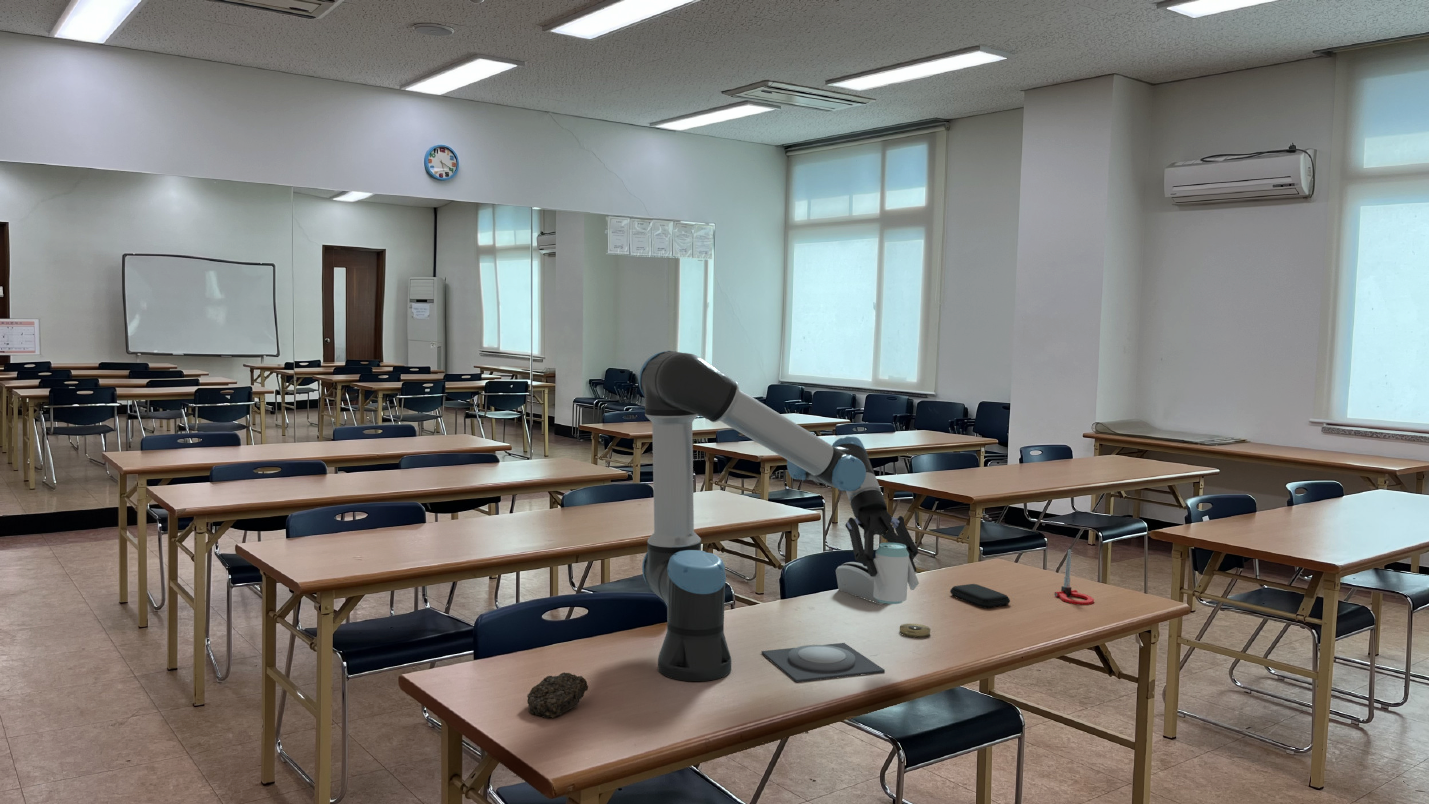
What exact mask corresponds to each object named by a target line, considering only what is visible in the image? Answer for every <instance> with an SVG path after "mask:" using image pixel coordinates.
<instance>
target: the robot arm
mask: <svg viewBox="0 0 1429 804" xmlns="http://www.w3.org/2000/svg"><path fill="white" fill-rule="evenodd" d="M638 387H639V390H640V392H641V394H642V395H643V397H644V415H645V417H646V418H647V419H648V420H649V421H650V422H651V424H652V427H651V428H652V469H653V470H652V475H653V476H652V477H653V478H652V480H653V483H652V484H653V529H654V530H653V531H654V532H653V533H652V534H651V536H649V537H648V538H647V552H646V553H645V555H644V557H643V561H642V565H641V569H642V576H643V579H644V581H645V583H646V585H647V587H648V588H649V590H650V591H651V592H652V593H654V594H655V595H656V596H657V597H658V598H660V599H661V600H662V601H663V602H665V603H666V604H667V609H666V610H667V612H666V613H667V614H666V615H667V616H666V619H667V623H666V624H667V625H666V626H667V627H666V633H665V637H664V639H663V642H662V645H661V648H660V650H659V654H658V656H657V670H658V672H659V673H660V674H662V675H663V676H665V677H668V678H671V679H674V680H679V681H684V682H685V681H686V682H709V681H713V680H717V679H722V678H724V677H726V676H728V675H729V674H731V672H732V655H731V653H730V649H729V647H728V642H727V640H726V636H725V631H724V630H725V629H724V628H725V626H724V624H725V623H724V622H725V602H726V601H725V597H726V596H725V595H726V581H727V575H726V566H725V563H724V560H723V559H722V558H721V557H719V556H718V555H717V554H714V553H712V552H707V551H704V550H702V538H701V537H700V536H699V535H698V534H697V533H696V531H695V527H694V526H695V521H694V518H695V517H694V515H695V514H694V512H695V510H694V468H693V467H694V452H693V451H694V450H693V449H694V448H693V443H694V441H693V440H694V439H693V422H694V421H695V420H696V418H698V417H699V416H700V417H703V418H704V419H706V420H709V421H710V422H712V423H717V422H721V423H723V424H724V425H726V426H728V427H730V428H731V429H733V430H735V431H737V432H738V433H741V434H742V435H744V436H745V437H747V438H749V439H751V440H752V441H754V442H756V443H757V444H759V445H760V446H763V447H764V448H765V449H768V450H769V451H771V452H773V453H775V454H776V455H778V456H779V457H782V458H784V459H785V460H786V468H787V472H788V474H789V476H790V478H792V479H794V480H802V481H807V480H808V481H809V480H811V481H814V482H816V483H817V482H818V483H821V484H823V485H827V486H830V487H832V488H835V489H838V491H842V492H845V493H846V496H847V498H848V502H849V504H850V507H851V510H852V514H853V516H854V518H853V517H849V518H848V520H847V522H846V523H845V525H844V526H845V528H846V530H847V531H848V532H849V533H848V534H849V538H850V541H851V542H850V543H851V546H852V550H853V556H854V559H855V562H857V563H861V564H863V566H867V569H868V572H869V574H870V576H871V577H874V580H875V582H876V585H877V588H878V591H879V592H882V591H883V590H884V589H885V587H886V586H887V584H886V581H885V578H884V575H883V573H882V570H881V567H880V564H879V562H878V559H877V558H875V557H874V546H875V543H874V541H875V540H874V539H875V537H874V536H876V535H878V536H881V537H882V538H883V539H884V540H886V541H887V543H899V544H903V545H905V546H906V550H907V551H908V553H909V565H908V583H907V585H908V587H909V589H910V591H914V590H915V589H916V587H918V585H919V584H920V583H919V580H918V577H917V575H916V572H917V567H916V565H915V562H914V560H915V558H916V557H917V556H918V554H919V550H918V548H917V546H916V544H915V541H914V540H913V539H912V537H911V535H910V532H909V531H908V529H907V528H908V527H906V524H905V518H904V517H903V516H902V515H899V516H898V517H893V516H892V514H890V513H889V511H888V506H887V503H886V500H885V498H884V497H885V496H884V495H883V493H882V488H881V487H880V483H879V482H878V479H877V477H876V475H875V472H874V468H873V466H872V463H871V460H870V458H869V455H868V452H867V450H866V447H865V446H864V444H863V442H862V440H861V439H860V438H859V437H857V436H854V435H847V436H845V437H840V438H838V439H836V440H835V441H834V442H833V443H832V444H830V443H828V442H827V441H825V440H823V439H822V438H821V437H819V436H817V435H815V433H812V432H811V431H809V430H807V429H806V428H804V427H802V426H801V425H799V424H798V423H796V422H794V421H792V420H790V418H787V417H786V416H784V415H782V414H780V413H779V412H777V411H775V410H774V409H772V408H771V407H769V406H767V405H766V404H764V403H763V402H761V401H759V400H758V399H756V398H754V397H753V396H751V395H749V394H748V393H746V392H744V391H742V390H741V389H740V388H739V383H738V382H737V381H736V380H734V379H733V378H731V377H729V376H728V375H726V373H724V372H722V371H721V370H719V369H718V368H716V367H714V366H713V365H712V364H710V363H709V362H708V361H706V359H703V358H702V357H701V356H698V355H696V354H694V353H693V354H692V353H689V352H680V351H675V350H674V351H672V350H665V351H661V352H656V353H654V354H652V355H650V356H649V357H648V358H647V359H646V361H644V363H643V364H642V365H641V368H640V370H639V374H638ZM859 527H860V528H861V529H862V531H863V540H862V535H861V532H860V528H859ZM863 541H864V543H863ZM863 544H864V545H863Z"/></svg>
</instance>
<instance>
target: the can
mask: <svg viewBox="0 0 1429 804" xmlns="http://www.w3.org/2000/svg"><path fill="white" fill-rule="evenodd" d="M875 558H877V559H878V562H879V564H880V567H881V570H882V573H883V575H884V578H885V581H886V584H887V586H886V587H885V589H884V590H883V591H882V592H879V591H878V588H877V585H876V582H875V580H874V591H873V597H874V598H875V599H877V601H879V602H882V603H884V604H889V605H898V604H902V603H903V602H905V601H906V600H907V599H908V598H907V597H908V565H909V553H908V551H907V550H906V546H905V545H903V544H899V543H889V542H880V543H878V547H877V549H876V550H875V557H874V559H875Z"/></svg>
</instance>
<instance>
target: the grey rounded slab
mask: <svg viewBox="0 0 1429 804" xmlns="http://www.w3.org/2000/svg"><path fill="white" fill-rule="evenodd" d="M835 575H836V581H837V587H838V588H837V589H838V590H839V591H841V590H842V591H841V592H844V593H846V592H847V594H849V595H852V594H853V595H852V596H854V595H856V596H855V597H857V596H859V597H858V598H860V597H862V598H861V599H863V598H865V599H867V600H866V601H868V600H871V601H874V602H876V603H875V604H877V603H878V604H877V605H879V604H882V605H884V604H885V603H882V602H879V601H877V599H875V598H874V597H873V591H874V577H871V576H870V574H869V572H868V569H867V566H863V564H862V562H857V561H849V562H845V563H842V564H841V565H838V566H837V568H836V569H835ZM865 599H864V600H865ZM871 601H870V602H871ZM874 602H873V603H874Z"/></svg>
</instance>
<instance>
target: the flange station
mask: <svg viewBox="0 0 1429 804" xmlns="http://www.w3.org/2000/svg"><path fill="white" fill-rule="evenodd" d="M760 653H761V655H763V656H764V657H765V658H766V657H767V658H766V659H768V661H770V662H771V661H772V662H773V663H772V662H771V663H772V664H774V666H776V665H777V666H778V667H779V668H778V667H777V666H776V667H777V668H778V669H780V670H781V671H782V670H783V671H782V672H783V673H784V674H785V675H787V676H788V677H789V678H790V679H792V680H793V681H794V682H795V681H796V682H795V683H802V681H804V682H811V680H813V681H820V679H822V680H827V679H826V678H830V679H835V678H836V679H837V677H839V678H848V677H855V676H856V675H857V676H862V675H861V674H866V675H873V673H874V674H881V673H882V674H883V673H885V672H886V670H885V669H884V668H882V667H881V666H880V665H878V663H877V664H876V663H875V662H874V661H872V660H871V659H870V658H867V656H864V654H862V653H860V652H859V651H858V650H856V649H854V648H853V647H851V646H850V645H849V644H847V643H845V642H840V643H829V644H828V643H827V644H807V645H800V646H797V647H790V648H789V647H788V648H779V649H777V648H776V649H770V650H761V652H760ZM847 676H848V677H847ZM857 676H856V677H857Z"/></svg>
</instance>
